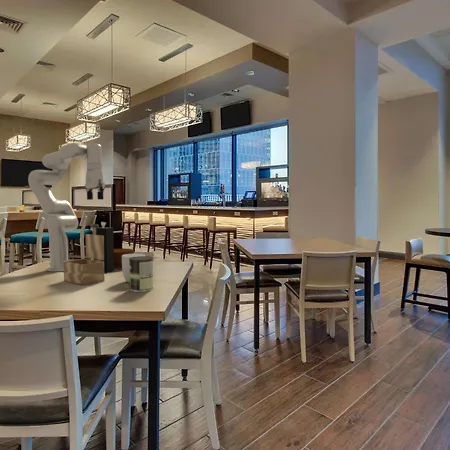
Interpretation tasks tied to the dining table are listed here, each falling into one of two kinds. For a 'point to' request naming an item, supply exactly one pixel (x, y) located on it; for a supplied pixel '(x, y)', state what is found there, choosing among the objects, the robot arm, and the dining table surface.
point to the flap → (94, 244)
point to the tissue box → (107, 247)
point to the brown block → (120, 256)
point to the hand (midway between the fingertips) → (95, 199)
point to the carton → (83, 271)
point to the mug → (127, 265)
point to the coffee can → (141, 273)
